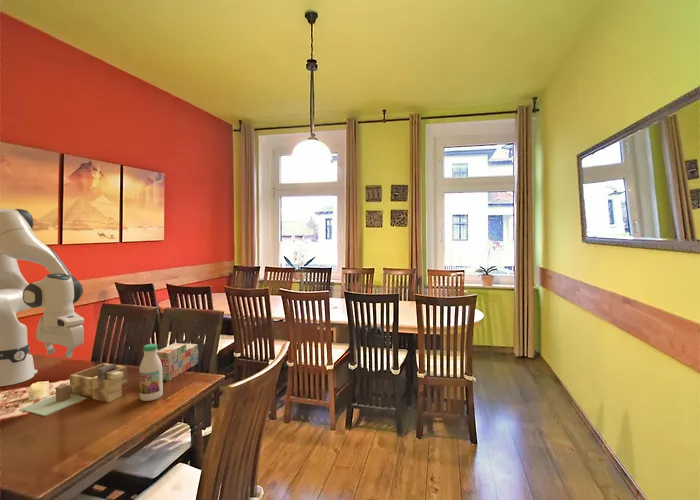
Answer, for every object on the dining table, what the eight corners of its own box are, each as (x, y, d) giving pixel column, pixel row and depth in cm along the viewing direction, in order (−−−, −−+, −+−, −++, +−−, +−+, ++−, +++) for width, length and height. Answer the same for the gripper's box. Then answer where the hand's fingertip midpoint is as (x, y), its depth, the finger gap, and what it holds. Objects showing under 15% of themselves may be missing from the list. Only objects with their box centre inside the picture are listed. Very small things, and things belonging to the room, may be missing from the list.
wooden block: (98, 376, 138) (98, 371, 138) (105, 374, 140) (105, 368, 140) (116, 380, 135) (116, 374, 135) (123, 377, 138) (123, 372, 137)
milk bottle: (146, 392, 143) (145, 342, 142) (166, 392, 143) (165, 342, 142) (135, 401, 136) (134, 348, 135) (156, 401, 136) (155, 348, 135)
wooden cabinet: (68, 393, 142) (67, 363, 141) (104, 379, 156) (103, 351, 155) (108, 402, 135) (108, 370, 134) (143, 386, 149) (142, 357, 148)
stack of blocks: (187, 362, 176) (186, 337, 176) (198, 363, 175) (198, 337, 175) (155, 379, 155) (155, 351, 155) (168, 381, 154) (168, 352, 154)
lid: (20, 411, 129) (19, 395, 128) (62, 395, 142) (62, 379, 142) (45, 418, 124) (44, 400, 124) (86, 400, 138) (86, 384, 137)
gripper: (30, 317, 134) (30, 354, 135) (69, 323, 128) (69, 362, 128) (49, 313, 140) (49, 349, 141) (87, 319, 134) (87, 356, 134)
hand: (59, 355), depth 135 cm, fingers open, 8 cm apart
